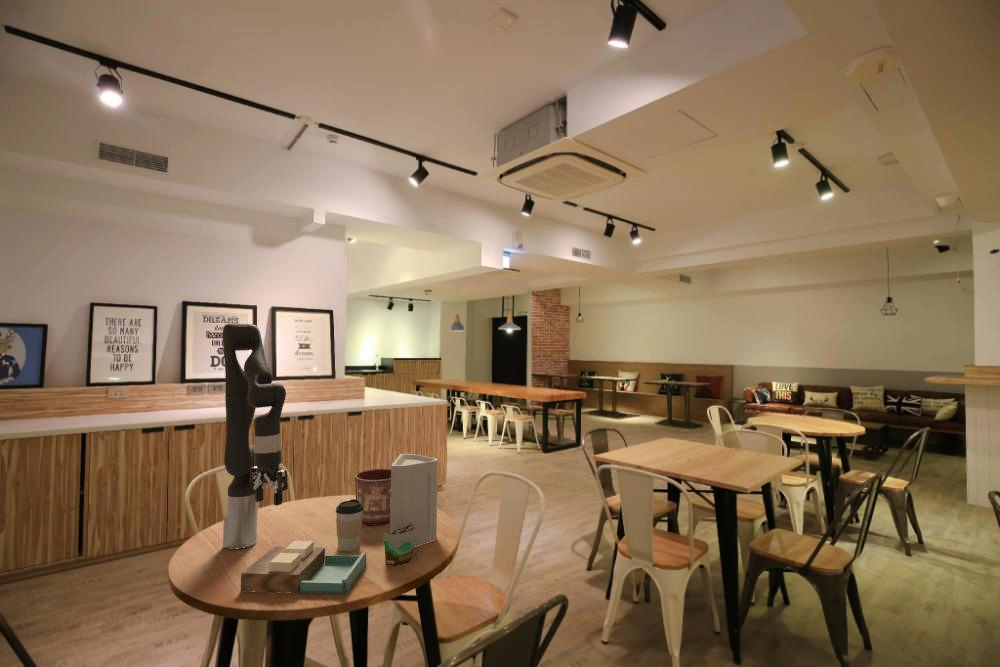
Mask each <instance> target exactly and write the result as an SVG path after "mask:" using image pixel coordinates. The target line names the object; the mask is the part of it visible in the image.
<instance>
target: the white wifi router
mask: <svg viewBox="0 0 1000 667" xmlns="http://www.w3.org/2000/svg"><path fill="white" fill-rule="evenodd" d="M390 467H391V468H390V469H391V502H390V522H389V534H391V533H392V532H394V531H395V530H397V529H401V528H404V527H407V526H409V523H412V524H414V526H415V528H416V535H415V536H414V541H413V548H416V547H415V546H417V547H419V546H418V545H420V546H422V545H421V544H424V543H427V542H430V541H433V540H437V528H438V527H437V526H438V525H437V524H438V523H437V522H438V520H437V518H438V516H437V515H438V478H439V477H438V473H439V459H438V458H436V457H430V456H426V455H420V454H414V453H401V454H399V455H398V456H397V458H396V459H395V460H394V461H393V462H392V464H391V466H390ZM430 543H431V542H430ZM427 544H428V543H427ZM424 545H425V544H424Z"/></svg>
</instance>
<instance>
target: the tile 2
mask: <svg viewBox="0 0 1000 667" xmlns="http://www.w3.org/2000/svg"><path fill="white" fill-rule="evenodd" d="M314 544H315V543H314V541H313V540H293V541H292V542H291V543H290V544H289V545H288V546H286V547H287V548H286V549H285V553H299V554H301V558H305V557H306V556H307V555H308V554H309V553H310V552H311V551H312V550H313V549H314V547H315V546H314Z"/></svg>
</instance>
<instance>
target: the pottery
mask: <svg viewBox="0 0 1000 667" xmlns="http://www.w3.org/2000/svg"><path fill="white" fill-rule="evenodd" d="M354 484H355V486H354V487H355V499H356V500H358V501H359V502H360V504H362V505H363V508H364V509H363V513H362V516H363V518H362V524H364V525H368V526H380V524H382V525H385V524H384V523H386V524H388V523H390V522H389V521H390V502H391V468H374V469H367V470H362V471H360V472H357V473H356V474H355V476H354ZM387 522H388V523H387Z"/></svg>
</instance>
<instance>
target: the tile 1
mask: <svg viewBox="0 0 1000 667" xmlns="http://www.w3.org/2000/svg"><path fill="white" fill-rule="evenodd" d="M300 558H301V554H299V553H280V554H278V555H277V556H276V557H275V558H274V559H273V560H271V561H270V563H269V571H274V572H291V571H292V570H293V569H294V568H295V567H296V566H297V565H298V564H299V563H300Z"/></svg>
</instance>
